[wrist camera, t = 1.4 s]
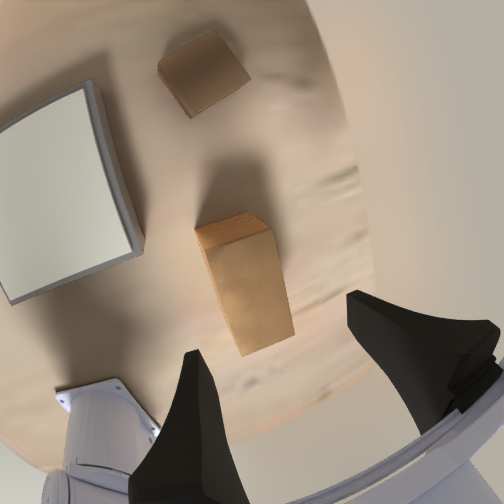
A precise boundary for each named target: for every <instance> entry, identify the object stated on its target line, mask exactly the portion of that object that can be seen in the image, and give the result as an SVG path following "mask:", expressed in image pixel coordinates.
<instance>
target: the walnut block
mask: <svg viewBox="0 0 504 504" xmlns="http://www.w3.org/2000/svg"><path fill="white" fill-rule="evenodd" d="M158 76H159V77H160V78H161V80H162V81H163V82H164V84H165V85H166V86H167V88H168V89H169V91H170V92H171V93H172V95H173V96H174V97H175V99H176V100H177V101H178V103H179V104H180V105H181V107H182V108H183V110H184V111H185V112H186V114H187V115H188V116H189V118H190V119H191V118H193V117H194V116H196V115H197V114H199V113H200V112H202V111H203V110H205V109H206V108H208V107H210V106H211V105H213V104H214V103H216V102H217V101H219V100H221V99H222V98H224V97H226V96H227V95H229V94H231V93H232V92H234V91H236V90H237V89H239V88H240V87H242V86H243V85H244V84H246V83H247V82H248V81H250V80H251V78H250V76H249V75H248V73H247V72H246V71H245V69H244V68H243V66H242V65H241V64H240V62H239V61H238V59H237V58H236V57H235V55H234V54H233V53H232V51H231V50H230V49H229V47H228V46H227V45H226V43H225V42H224V41H223V39H222V38H221V37H220V36H219V34H218V33H217V32H216V31H214V32H212V33H210V34H208V35H206V36H204V37H202V38H200V39H198V40H196V41H194V42H192V43H190V44H188V45H186V46H185V47H183V48H181V49H179V50H178V51H176V52H174V53H172V54H171V55H169V56H167V57H166V58H164V59H162V60H161V61H159V62H158Z"/></svg>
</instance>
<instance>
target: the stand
mask: <svg viewBox="0 0 504 504" xmlns="http://www.w3.org/2000/svg"><path fill="white" fill-rule="evenodd" d="M144 245H145V238H144V235H143V232H142V230H141V227H140V224H139V221H138V218H137V216H136V213H135V210H134V207H133V204H132V201H131V198H130V195H129V192H128V189H127V186H126V182H125V179H124V176H123V173H122V170H121V166H120V163H119V159H118V156H117V152H116V149H115V145H114V142H113V138H112V134H111V130H110V126H109V122H108V118H107V114H106V110H105V106H104V101H103V97H102V92H101V89H100V88H99V87H98V86H97V85H96V84H95V83H94V82H93V81H92V80H88V81H86V82H84V83H81V84H79V85H77V86H75V87H72V88H70V89H68V90H66V91H64V92H62V93H60V94H58V95H56V96H54V97H52V98H50V99H48V100H46V101H44V102H42V103H40V104H39V105H37V106H35V107H33V108H31V109H30V110H28V111H26V112H25V113H23V114H21V115H20V116H18V117H16V118H15V119H13V120H11V121H10V122H8V123H7V124H5V125H4V126H2V127H1V128H0V285H1V287H2V289H3V291H4V293H5V295H6V297H7V299H8V301H9V303H10V304H11V306H13V305H15V304H18V303H20V302H22V301H25V300H27V299H30V298H32V297H34V296H37V295H39V294H42V293H44V292H47V291H49V290H51V289H54V288H56V287H59V286H61V285H64V284H66V283H69V282H71V281H74V280H77V279H79V278H82V277H84V276H87V275H89V274H92V273H94V272H97V271H100V270H102V269H105V268H108V267H110V266H113V265H116V264H118V263H121V262H124V261H126V260H129V259H132V258H134V257H137V256H140V255H142V254H143V252H144Z"/></svg>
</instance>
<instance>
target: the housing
mask: <svg viewBox="0 0 504 504" xmlns="http://www.w3.org/2000/svg"><path fill="white" fill-rule="evenodd" d="M195 233H196V236H197V239H198V242H199V246H200V249H201V252H202V255H203V258H204V261H205V264H206V266H207V269H208V272H209V275H210V278H211V281H212V284H213V287H214V290H215V293H216V295H217V298H218V301H219V304H220V307H221V309H222V312H223V315H224V318H225V320H226V323H227V325H228V327H229V329H230V332H231V334H232V336H233V338H234V340H235V343H236V345H237V347H238V349H239V351H240V354H241V356H242V357H243V356H245V355H248V354H251V353H253V352H256V351H258V350H261V349H263V348H265V347H268V346H270V345H273V344H275V343H278V342H280V341H282V340H285V339H287V338H289V337H291V336H294V335H295V332H294V327H293V322H292V317H291V312H290V307H289V302H288V297H287V293H286V288H285V283H284V278H283V273H282V269H281V264H280V259H279V255H278V250H277V246H276V241H275V236H274V232H273V229H272V228H270V227H269V226H267V225H266V224H265V223H263V222H262V221H260V220H259V219H257V218H256V217H254V216H253V215H251V214H250V213H248V212H246V213H243V214H239V215H236V216H233V217H230V218H227V219H224V220H221V221H218V222H215V223H212V224H209V225H206V226H203V227H200V228H197V229H195Z"/></svg>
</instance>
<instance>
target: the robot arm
mask: <svg viewBox="0 0 504 504" xmlns="http://www.w3.org/2000/svg"><path fill="white" fill-rule="evenodd" d="M346 298H347V325H348V327H349V329H350V330H351V332H352V334H353V335H354V337H355V338H356V340H357V341H358V342H359V343H360V345H361V346H362V347H363V348H364V349H365V350H366V352H367V353H368V354H369V355H370V356H371V357H372V358H373V360H374V361H375V362H376V363H377V364H378V365H379V366H380V367H381V369H382V370H383V371H384V372H385V373H386V375H387V376H388V377H389V379H390V380H391V382H392V383H393V385H394V386H395V388H396V389H397V391H398V393H399V394H400V396H401V398H402V399H403V401H404V402H405V404H406V406H407V408H408V410H409V412H410V413H411V415H412V417H413V419H414V421H415V423H416V425H417V427H418V429H419V431H420V434H421V436H420V437H419V438H417V439H416V440H414V441H413V442H411V443H410V444H408V445H407V446H405V447H404V448H402V449H401V450H399V451H398V452H396V453H394V454H393V455H391V456H389V457H388V458H386V459H384V460H383V461H381V462H379V463H377V464H376V465H374V466H372V467H370V468H368V469H367V470H364V471H362V472H361V473H359V474H357V475H355V476H353V477H351V478H348V479H346V480H344V481H342V482H340V483H338V484H335V485H333V486H331V487H329V488H326V489H324V490H322V491H319V492H317V493H314V494H312V495H309V496H306V497H304V498H301V499H298V500H296V501H292V502H290V503H286V504H333V503H336V502H338V501H340V500H342V499H345V498H347V497H349V496H351V495H353V494H355V493H357V492H359V491H361V490H363V489H365V488H367V487H369V486H371V485H372V484H374V483H376V482H378V481H380V480H382V479H383V478H385V477H387V476H388V475H390V474H392V473H394V472H395V471H397V470H398V469H400V468H402V467H403V466H405V465H406V464H408V463H409V462H411V461H412V460H414V459H415V458H417V457H418V456H420V455H421V454H423V453H424V452H425V451H426V454H425V456H424V457H422V458H421V459H419V460H418V461H417V462H415V463H414V464H412V465H411V466H409V467H408V468H406V469H404V470H403V471H401V472H400V473H398V474H397V475H395V476H393V477H392V478H390V479H388V480H386V481H385V482H383V483H381V484H379V485H378V486H376V487H374V488H372V489H371V490H369V491H367V492H365V493H364V494H362V495H360V496H358V497H356V498H354V499H353V500H351V501H348V502H347V503H345V504H503V503H502V501H501V500H500V499H499V497H498V496H497V495H496V493H495V492H494V491H493V489H492V488H491V487H490V486H489V484H488V483H487V482H486V480H485V479H484V478H483V477H482V475H481V474H480V473H479V472H478V470H477V469H476V468H475V466H474V465H473V464H472V463H471V461H470V460H469V459H470V458H471V457H472V456H473V455H474V454H475V453H477V452H478V451H479V450H480V449H481V448H482V447H483V446H484V445H485V444H486V443H487V442H488V441H489V440H490V439H491V438H492V437H493V435H494V434H495V433H496V432H497V431H498V430H499V429H500V428H501V427H502V426H503V425H504V358H503V359H502V360H501V361H500V363H499V364H496V363H495V361H496V357H495V356H494V355H493V351H494V349H495V347H496V345H497V343H498V340H499V337H500V328H498V327H497V326H496V325H495V324H493V323H492V322H491V321H489V320H455V319H446V318H439V317H434V316H429V315H425V314H421V313H417V312H414V311H411V310H408V309H405V308H402V307H399V306H396V305H394V304H391V303H388V302H386V301H384V300H381V299H379V298H376V297H374V296H372V295H369V294H367V293H364V292H362V291H359V290H355V291H353V292H350V293H348V294H346ZM117 386H119V387H117ZM55 398H56V399H57V400H58V402H59V403H60V404H61V405H62V406H63V407H64V408H65V409H66V410H67V411H68V412H69V413H70V414H69V420H68V427H67V434H66V441H65V449H64V459H63V470H60V469H55V470H54V471H51V472H49V473H48V475H47V477H46V480H45V483H44V487H43V493H42V502H41V504H250V503H249V500H248V498H247V496H246V493H245V491H244V489H243V486H242V483H241V481H240V478H239V476H238V473H237V470H236V467H235V464H234V461H233V458H232V455H231V453H230V449H229V446H228V443H227V439H226V434H225V429H224V424H223V418H222V413H221V407H220V402H219V396H218V393H217V389H216V386H215V382H214V379H213V376H212V374H211V373H210V371H209V369H208V367H207V365H206V363H205V361H204V359H203V357H202V355H201V353H200V351H199V349H197V350H193V351H190V352H187V353H185V355H184V360H183V365H182V370H181V374H180V378H179V382H178V385H177V389H176V393H175V396H174V399H173V402H172V405H171V408H170V410H169V413H168V415H167V418H166V420H165V422H164V425H163V427H162V429H160V428H159V427H158V426H157V425H156V424H155V423H154V422H153V420H152V419H151V418H150V417H149V416H148V415H147V413H146V412H145V411H144V410H143V409H142V408H141V406H140V405H139V404H138V403H137V401H136V400H135V399H134V398H133V396H132V395H131V394H130V393H129V391H128V390H127V389H126V387H125V386H124V385H123V383H122V382H121V381H120V380H119V379H116V378H113V379H109V380H106V381H102V382H98V383H94V384H90V385H86V386H82V387H78V388H74V389H70V390H65V391H61V392H57V393H55ZM154 436H158V437H157V438H156V440H155V438H154ZM429 448H430V449H429ZM428 449H429V450H428Z"/></svg>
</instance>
